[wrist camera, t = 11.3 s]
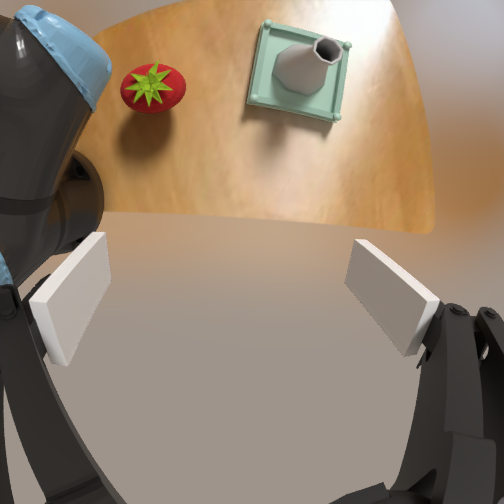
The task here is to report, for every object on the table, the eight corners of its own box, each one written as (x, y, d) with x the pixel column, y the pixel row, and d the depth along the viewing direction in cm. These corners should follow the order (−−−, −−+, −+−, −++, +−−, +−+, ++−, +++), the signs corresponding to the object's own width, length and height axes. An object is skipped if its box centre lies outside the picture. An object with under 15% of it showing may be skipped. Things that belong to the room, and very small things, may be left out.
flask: (262, 75, 31) (278, 54, 22) (290, 36, 29) (314, 7, 20) (309, 106, 33) (341, 97, 24) (336, 66, 31) (372, 49, 22)
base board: (246, 104, 34) (248, 101, 31) (261, 25, 29) (264, 17, 27) (333, 122, 36) (341, 122, 33) (344, 47, 31) (352, 42, 29)
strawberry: (136, 74, 30) (112, 55, 21) (193, 75, 31) (185, 53, 22) (131, 116, 32) (103, 110, 23) (187, 117, 33) (176, 110, 24)
